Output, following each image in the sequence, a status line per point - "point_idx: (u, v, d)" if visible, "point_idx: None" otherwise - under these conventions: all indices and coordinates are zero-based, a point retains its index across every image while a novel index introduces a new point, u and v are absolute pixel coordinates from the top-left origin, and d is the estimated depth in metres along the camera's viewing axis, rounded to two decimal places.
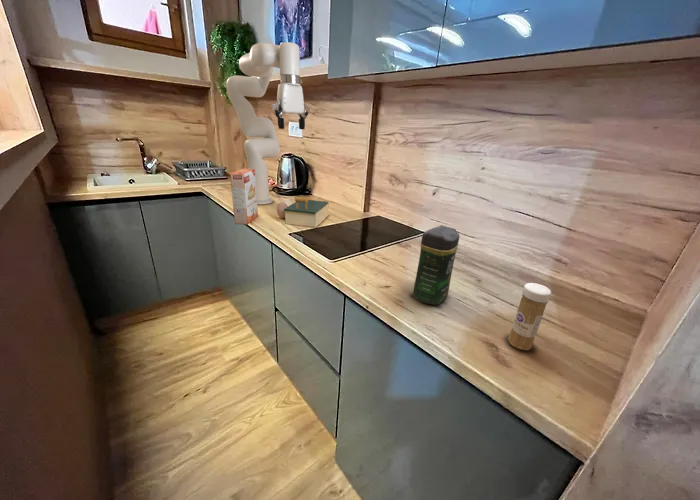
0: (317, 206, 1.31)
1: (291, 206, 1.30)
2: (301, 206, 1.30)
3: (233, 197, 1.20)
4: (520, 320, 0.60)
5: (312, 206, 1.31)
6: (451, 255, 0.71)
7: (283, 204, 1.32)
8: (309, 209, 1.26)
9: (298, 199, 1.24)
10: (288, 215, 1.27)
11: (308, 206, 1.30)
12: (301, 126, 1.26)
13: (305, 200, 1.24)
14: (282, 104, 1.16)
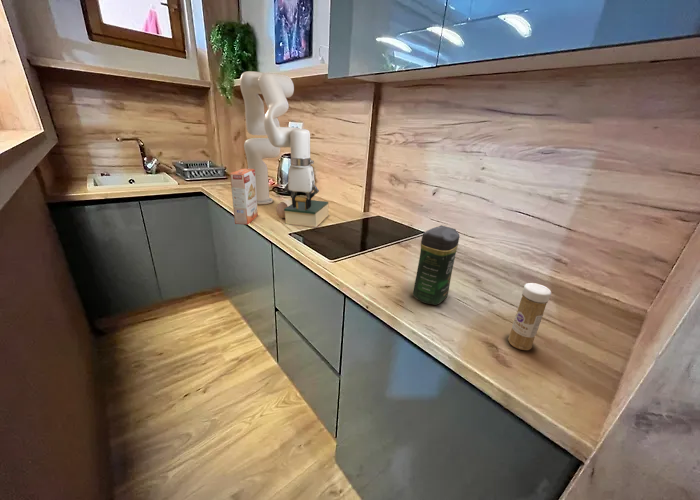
0: (317, 206, 1.31)
1: (291, 206, 1.30)
2: (301, 206, 1.30)
3: (233, 197, 1.20)
4: (520, 320, 0.60)
5: (312, 206, 1.31)
6: (451, 255, 0.71)
7: (283, 204, 1.32)
8: (309, 209, 1.26)
9: (298, 199, 1.24)
10: (288, 215, 1.27)
11: None
12: None
13: (305, 200, 1.24)
14: (288, 183, 1.22)
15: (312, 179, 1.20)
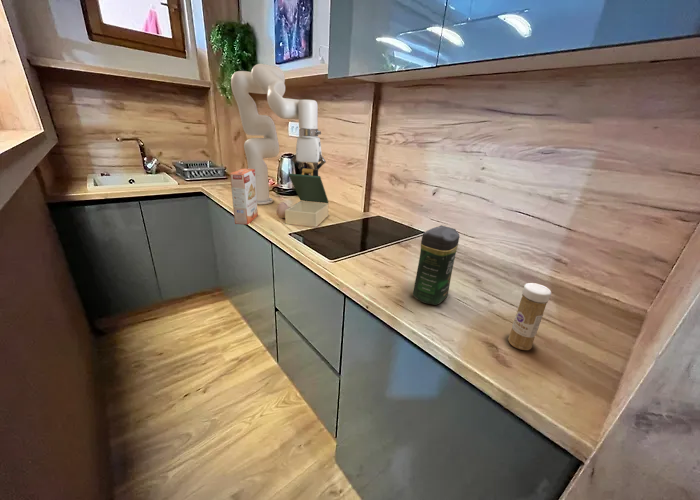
0: None
1: None
2: None
3: (233, 197, 1.20)
4: (520, 320, 0.60)
5: None
6: (451, 255, 0.71)
7: (283, 204, 1.32)
8: None
9: (305, 169, 1.28)
10: (288, 215, 1.27)
11: None
12: None
13: (312, 170, 1.27)
14: (296, 154, 1.26)
15: (319, 150, 1.24)
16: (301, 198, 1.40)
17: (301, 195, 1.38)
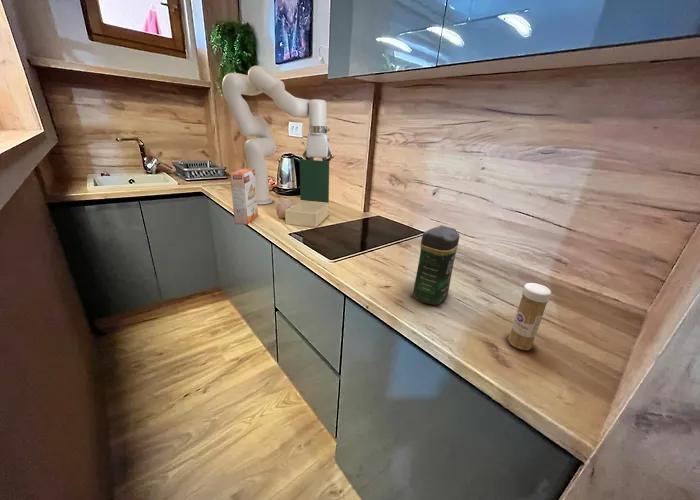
0: None
1: None
2: None
3: (233, 197, 1.20)
4: (520, 320, 0.60)
5: None
6: (451, 255, 0.71)
7: (283, 204, 1.32)
8: None
9: None
10: (288, 215, 1.27)
11: None
12: None
13: None
14: (306, 150, 1.36)
15: (328, 145, 1.35)
16: (302, 196, 1.41)
17: (303, 191, 1.40)
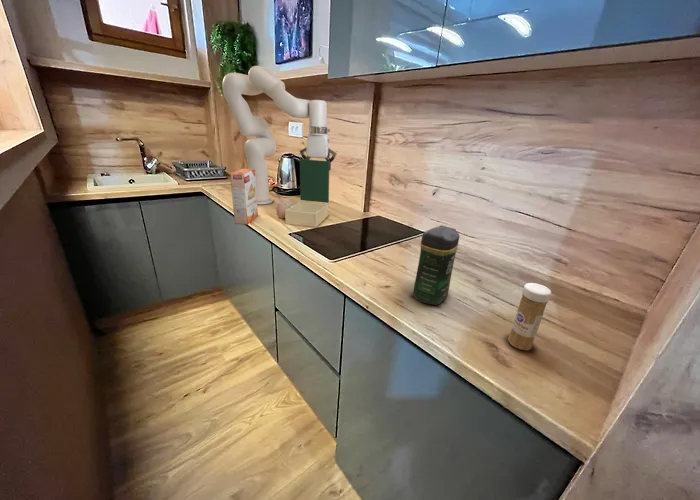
0: None
1: None
2: None
3: (233, 197, 1.20)
4: (520, 320, 0.60)
5: None
6: (451, 255, 0.71)
7: (283, 204, 1.32)
8: None
9: None
10: (288, 215, 1.27)
11: None
12: None
13: None
14: (306, 150, 1.36)
15: (328, 146, 1.35)
16: (302, 196, 1.41)
17: (303, 191, 1.40)
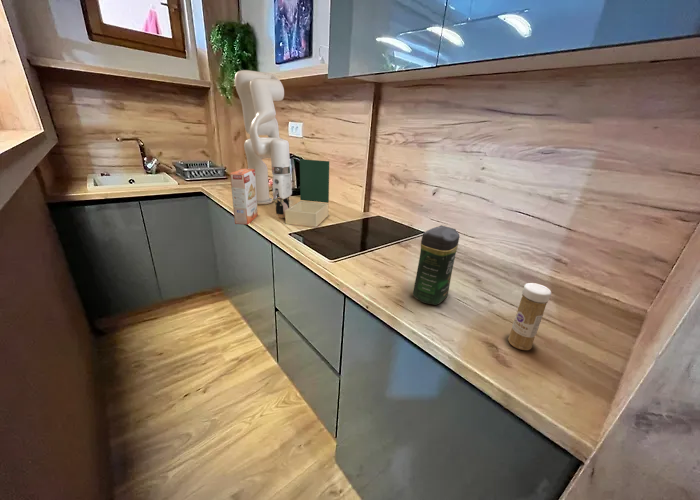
0: None
1: None
2: None
3: (233, 197, 1.20)
4: (520, 320, 0.60)
5: None
6: (451, 255, 0.71)
7: (283, 204, 1.32)
8: None
9: None
10: (288, 215, 1.27)
11: None
12: None
13: None
14: None
15: (275, 187, 1.26)
16: (302, 196, 1.41)
17: (303, 191, 1.40)
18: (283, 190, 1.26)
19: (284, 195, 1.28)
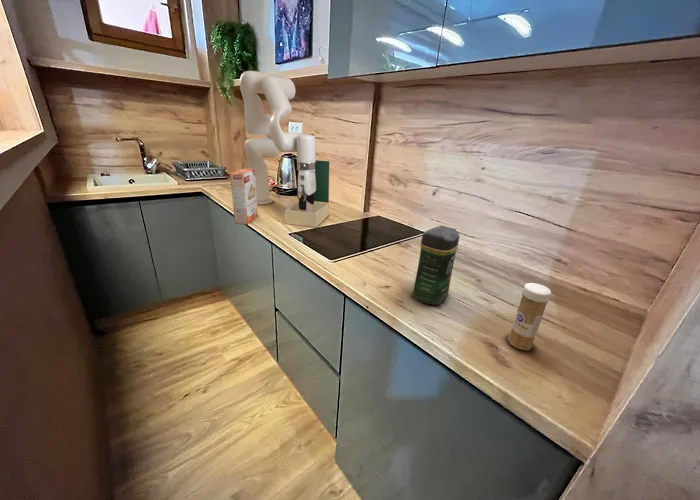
0: None
1: None
2: None
3: (233, 197, 1.20)
4: (520, 320, 0.60)
5: None
6: (451, 255, 0.71)
7: (308, 204, 1.30)
8: None
9: None
10: (288, 215, 1.27)
11: None
12: None
13: None
14: None
15: (301, 183, 1.23)
16: None
17: None
18: (309, 186, 1.24)
19: (309, 191, 1.26)
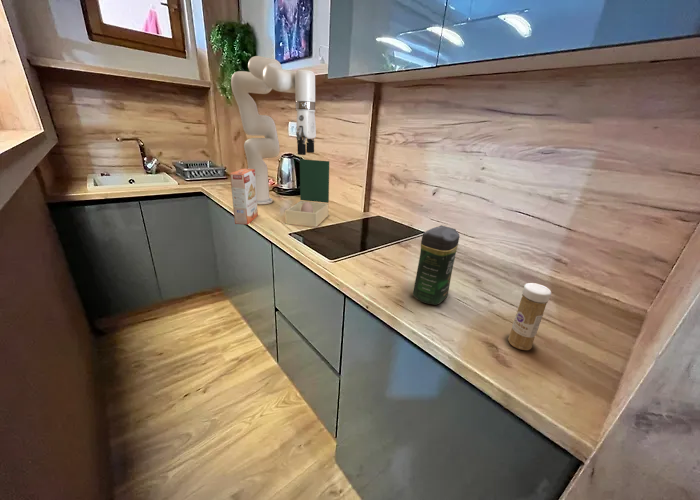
0: None
1: None
2: None
3: (233, 197, 1.20)
4: (520, 320, 0.60)
5: None
6: (451, 255, 0.71)
7: (308, 204, 1.30)
8: None
9: None
10: (288, 215, 1.27)
11: None
12: None
13: None
14: None
15: (300, 124, 1.15)
16: (302, 196, 1.41)
17: (303, 191, 1.40)
18: (308, 128, 1.15)
19: (309, 134, 1.17)
